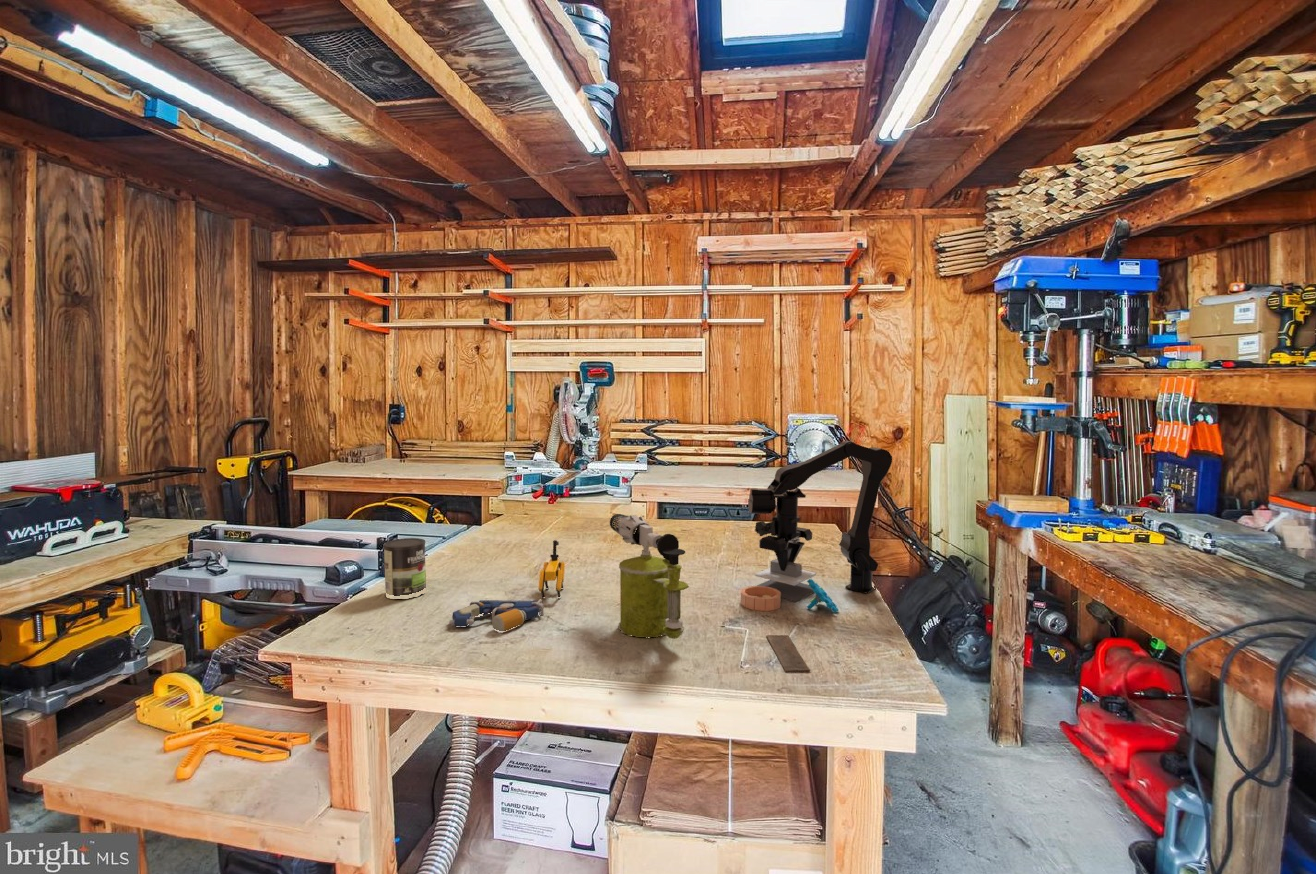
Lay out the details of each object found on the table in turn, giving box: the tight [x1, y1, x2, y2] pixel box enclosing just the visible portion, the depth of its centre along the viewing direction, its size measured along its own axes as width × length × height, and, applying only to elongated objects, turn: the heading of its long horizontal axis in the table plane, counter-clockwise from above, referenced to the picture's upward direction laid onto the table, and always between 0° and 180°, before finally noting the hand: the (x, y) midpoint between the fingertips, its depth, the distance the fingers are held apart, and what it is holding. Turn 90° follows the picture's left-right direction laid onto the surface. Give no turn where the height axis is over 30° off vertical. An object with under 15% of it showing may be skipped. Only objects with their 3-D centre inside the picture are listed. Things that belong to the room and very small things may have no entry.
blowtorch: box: [609, 513, 690, 640], centre depth 133 cm, size 13×33×25 cm, turn 28°
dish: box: [740, 585, 782, 612], centre depth 149 cm, size 10×10×3 cm
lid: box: [754, 558, 817, 585], centre depth 160 cm, size 12×12×4 cm
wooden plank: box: [766, 634, 811, 673], centre depth 121 cm, size 17×1×5 cm
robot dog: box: [538, 539, 566, 598], centre depth 158 cm, size 6×18×13 cm, turn 4°
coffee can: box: [383, 537, 427, 596], centre depth 156 cm, size 10×10×14 cm
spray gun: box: [448, 598, 545, 631], centre depth 137 cm, size 21×4×15 cm
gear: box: [806, 578, 839, 613], centre depth 146 cm, size 11×6×10 cm
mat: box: [756, 579, 821, 603], centre depth 160 cm, size 14×14×1 cm
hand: (786, 569), depth 160 cm, fingers closed on lid, 3 cm apart
